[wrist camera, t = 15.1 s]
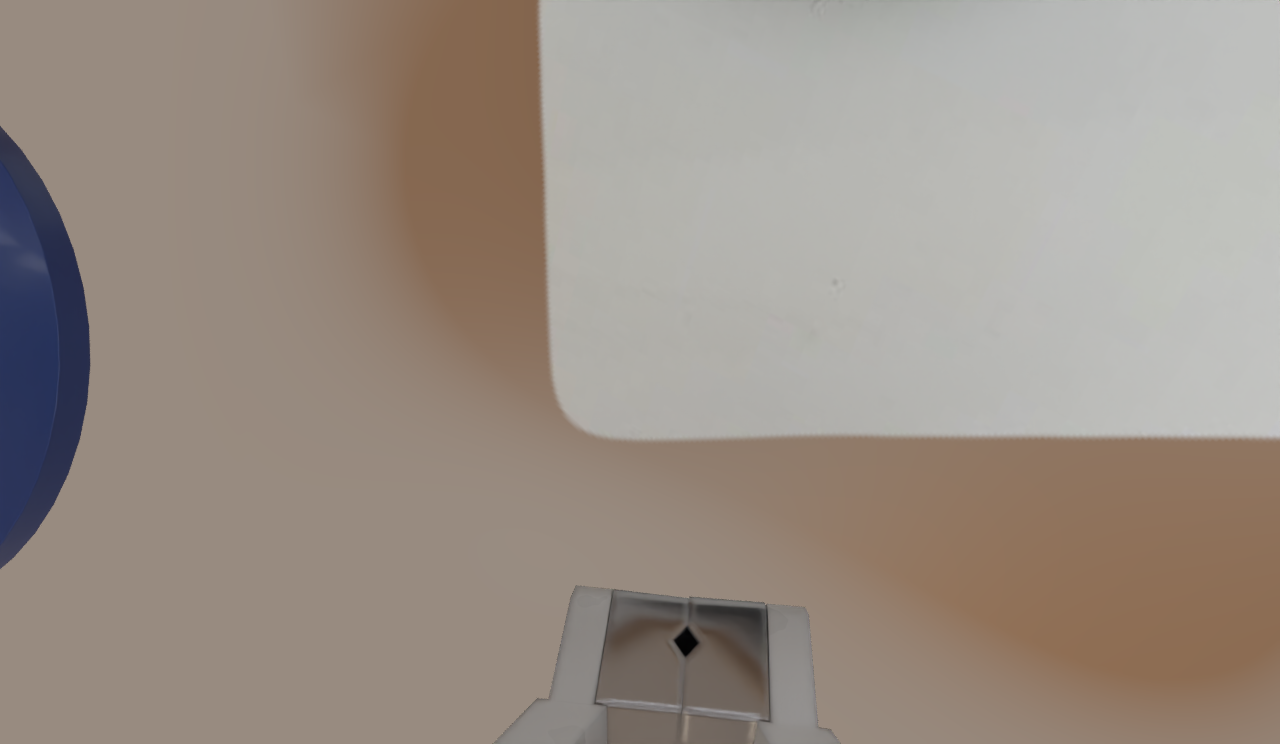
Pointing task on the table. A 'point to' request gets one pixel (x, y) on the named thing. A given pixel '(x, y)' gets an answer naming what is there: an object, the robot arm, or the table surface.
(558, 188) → the table surface
